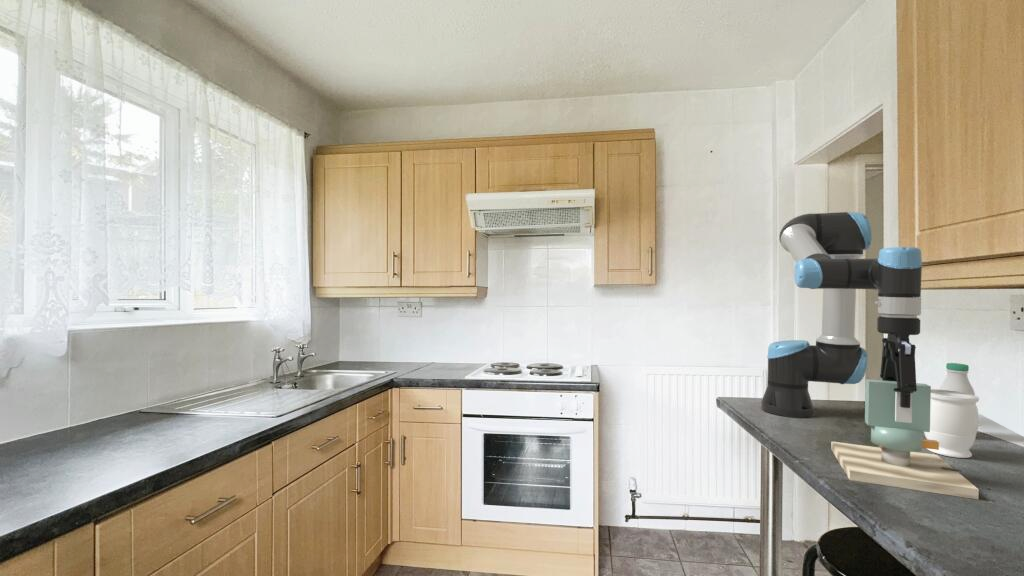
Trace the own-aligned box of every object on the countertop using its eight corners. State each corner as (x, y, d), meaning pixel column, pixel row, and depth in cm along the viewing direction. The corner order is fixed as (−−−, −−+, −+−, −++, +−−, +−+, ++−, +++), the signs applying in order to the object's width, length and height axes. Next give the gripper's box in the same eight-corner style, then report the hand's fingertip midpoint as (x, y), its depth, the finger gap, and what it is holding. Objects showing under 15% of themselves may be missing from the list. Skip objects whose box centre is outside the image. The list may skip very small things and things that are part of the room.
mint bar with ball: (861, 435, 114) (862, 376, 114) (929, 443, 109) (930, 382, 109) (871, 447, 106) (872, 384, 106) (945, 456, 101) (947, 390, 100)
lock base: (830, 448, 122) (831, 426, 122) (939, 462, 113) (939, 438, 113) (849, 479, 103) (850, 453, 102) (983, 500, 94) (983, 471, 93)
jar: (970, 450, 122) (971, 392, 122) (984, 463, 113) (985, 400, 113) (916, 443, 127) (917, 386, 127) (925, 454, 118) (927, 394, 118)
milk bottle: (950, 438, 132) (951, 365, 132) (930, 429, 139) (932, 361, 139) (982, 439, 130) (984, 366, 130) (961, 431, 138) (962, 362, 138)
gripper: (866, 313, 119) (864, 403, 119) (892, 318, 99) (890, 427, 99) (903, 314, 115) (901, 407, 116) (938, 320, 96) (936, 432, 96)
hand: (896, 416), depth 108 cm, fingers open, 9 cm apart
